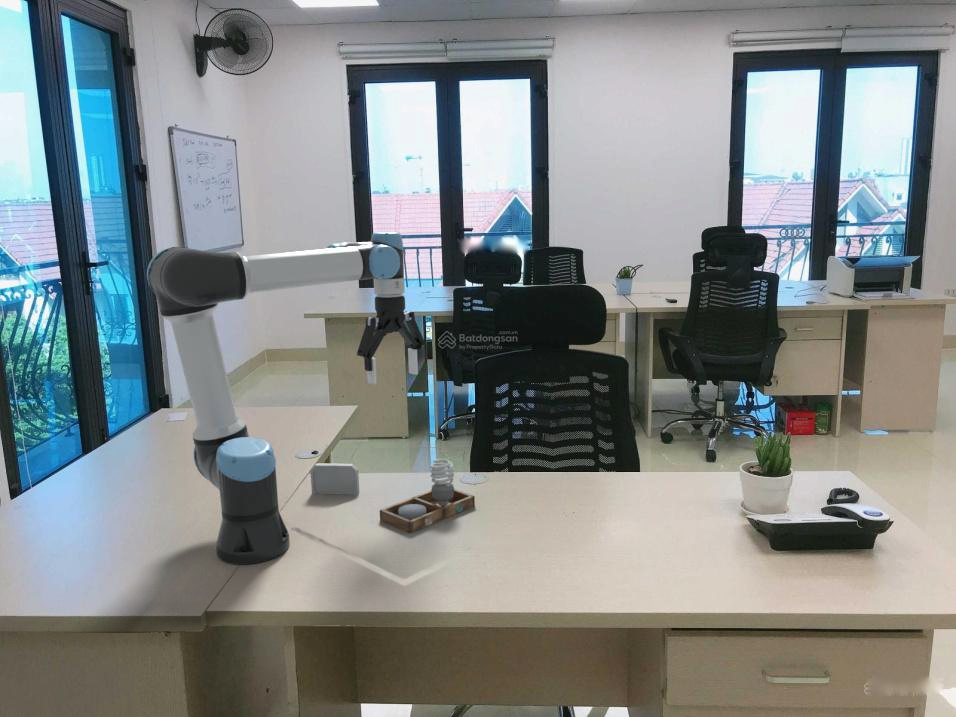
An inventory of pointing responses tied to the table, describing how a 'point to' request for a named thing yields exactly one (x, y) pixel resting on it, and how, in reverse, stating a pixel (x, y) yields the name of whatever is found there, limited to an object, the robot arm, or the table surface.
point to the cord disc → (412, 511)
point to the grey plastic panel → (334, 479)
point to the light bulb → (442, 481)
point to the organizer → (433, 510)
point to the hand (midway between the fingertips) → (393, 378)
